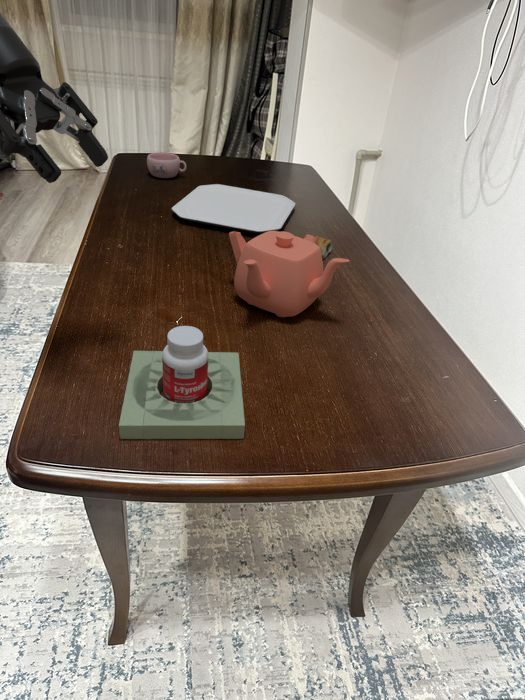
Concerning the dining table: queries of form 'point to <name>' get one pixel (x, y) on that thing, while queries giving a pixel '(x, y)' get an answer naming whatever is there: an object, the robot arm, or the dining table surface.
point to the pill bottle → (185, 365)
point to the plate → (235, 208)
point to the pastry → (323, 245)
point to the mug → (164, 164)
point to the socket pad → (182, 418)
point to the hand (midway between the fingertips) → (81, 170)
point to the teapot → (281, 271)
